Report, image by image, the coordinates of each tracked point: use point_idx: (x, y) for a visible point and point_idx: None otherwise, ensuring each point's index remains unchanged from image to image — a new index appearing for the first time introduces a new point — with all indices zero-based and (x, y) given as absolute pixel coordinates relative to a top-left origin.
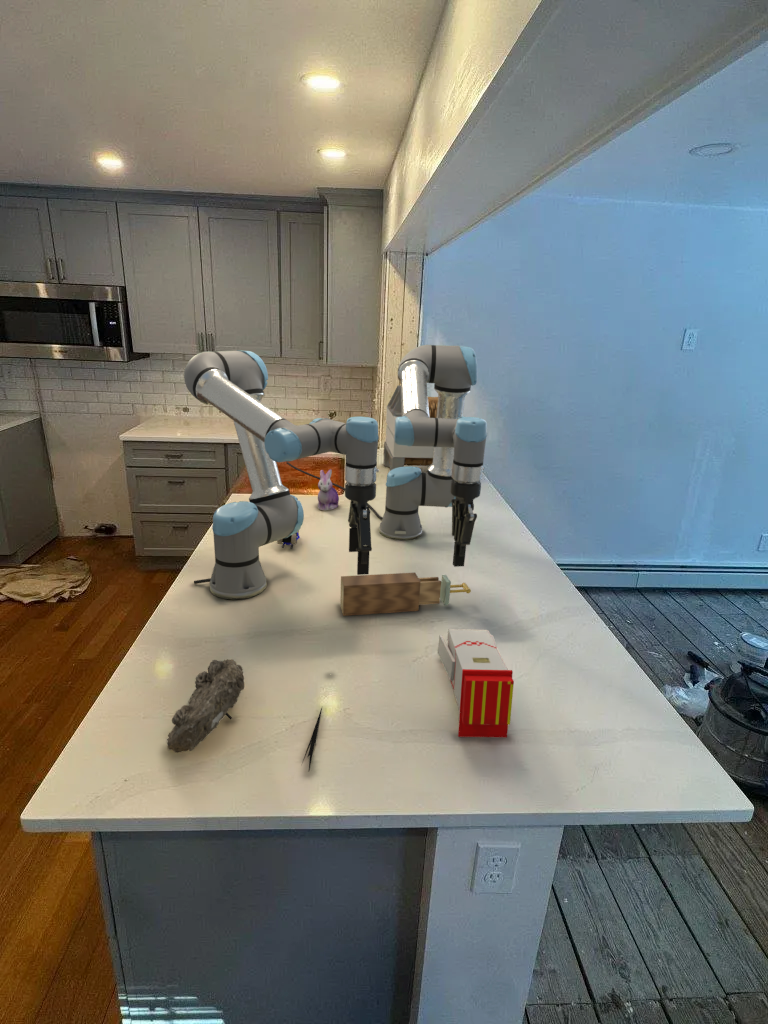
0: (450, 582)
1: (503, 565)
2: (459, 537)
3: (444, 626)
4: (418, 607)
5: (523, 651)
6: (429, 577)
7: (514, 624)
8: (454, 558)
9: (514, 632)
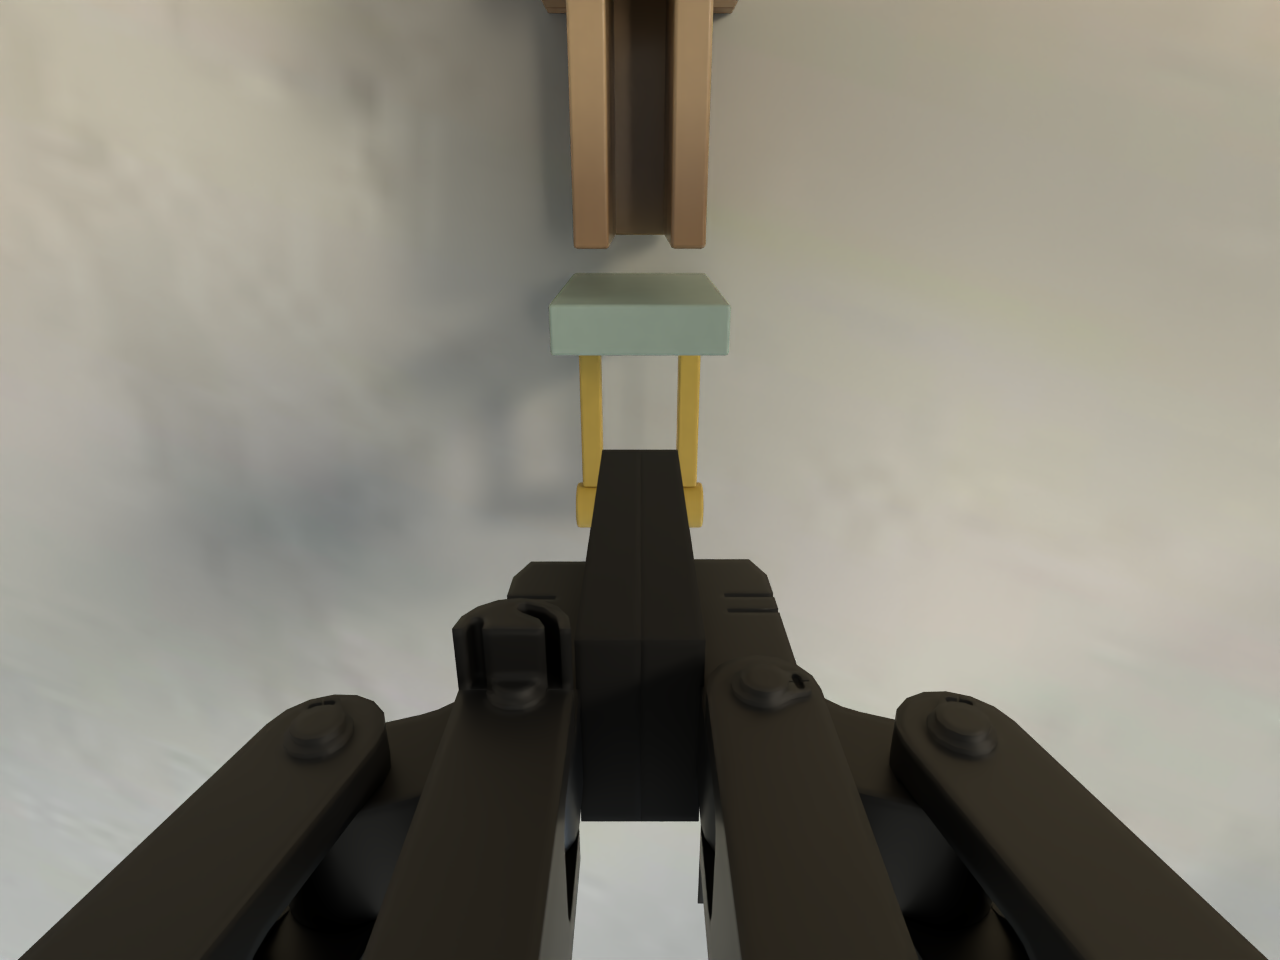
0: (551, 350)
1: None
2: (413, 820)
3: (291, 180)
4: (542, 1)
5: (23, 599)
6: (698, 128)
7: (333, 662)
8: (623, 492)
9: (238, 629)
